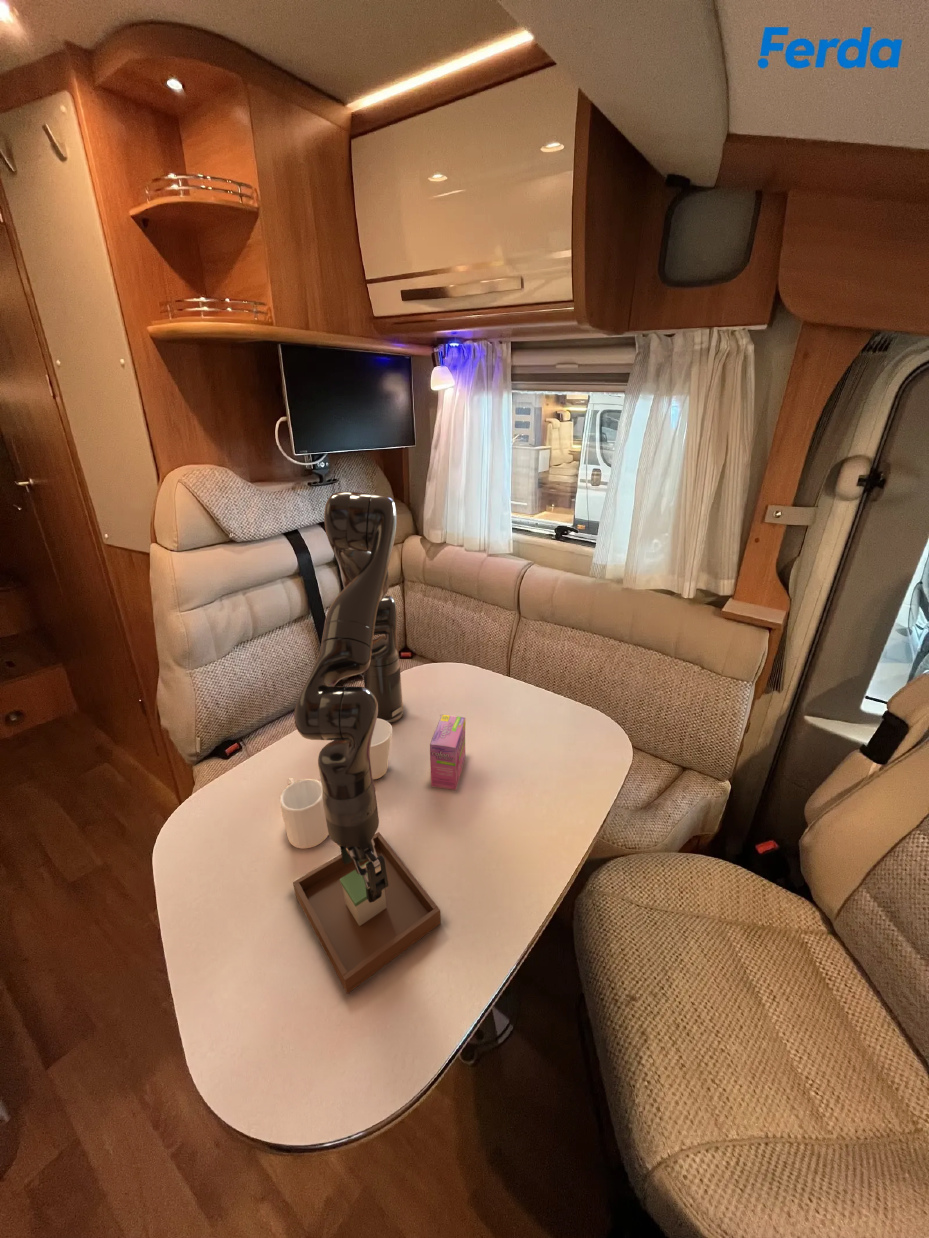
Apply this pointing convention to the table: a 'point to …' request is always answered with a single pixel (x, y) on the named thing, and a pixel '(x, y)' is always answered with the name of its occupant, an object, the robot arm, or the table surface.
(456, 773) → the box
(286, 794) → the mug
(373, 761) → the cup
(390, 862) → the tray
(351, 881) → the container
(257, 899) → the table surface
